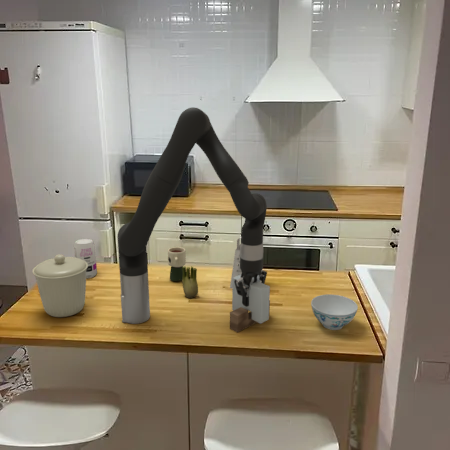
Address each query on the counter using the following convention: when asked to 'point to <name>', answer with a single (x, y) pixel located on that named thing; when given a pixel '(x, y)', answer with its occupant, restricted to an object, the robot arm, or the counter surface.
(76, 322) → the counter surface
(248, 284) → the robot arm
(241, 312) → the walnut stand
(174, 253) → the character mug
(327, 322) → the chinaware
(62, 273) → the canister
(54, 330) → the counter surface
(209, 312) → the counter surface
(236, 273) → the grater
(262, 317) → the plain gray rectangular block
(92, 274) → the supplement can
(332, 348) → the counter surface
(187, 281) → the fennel bulb
